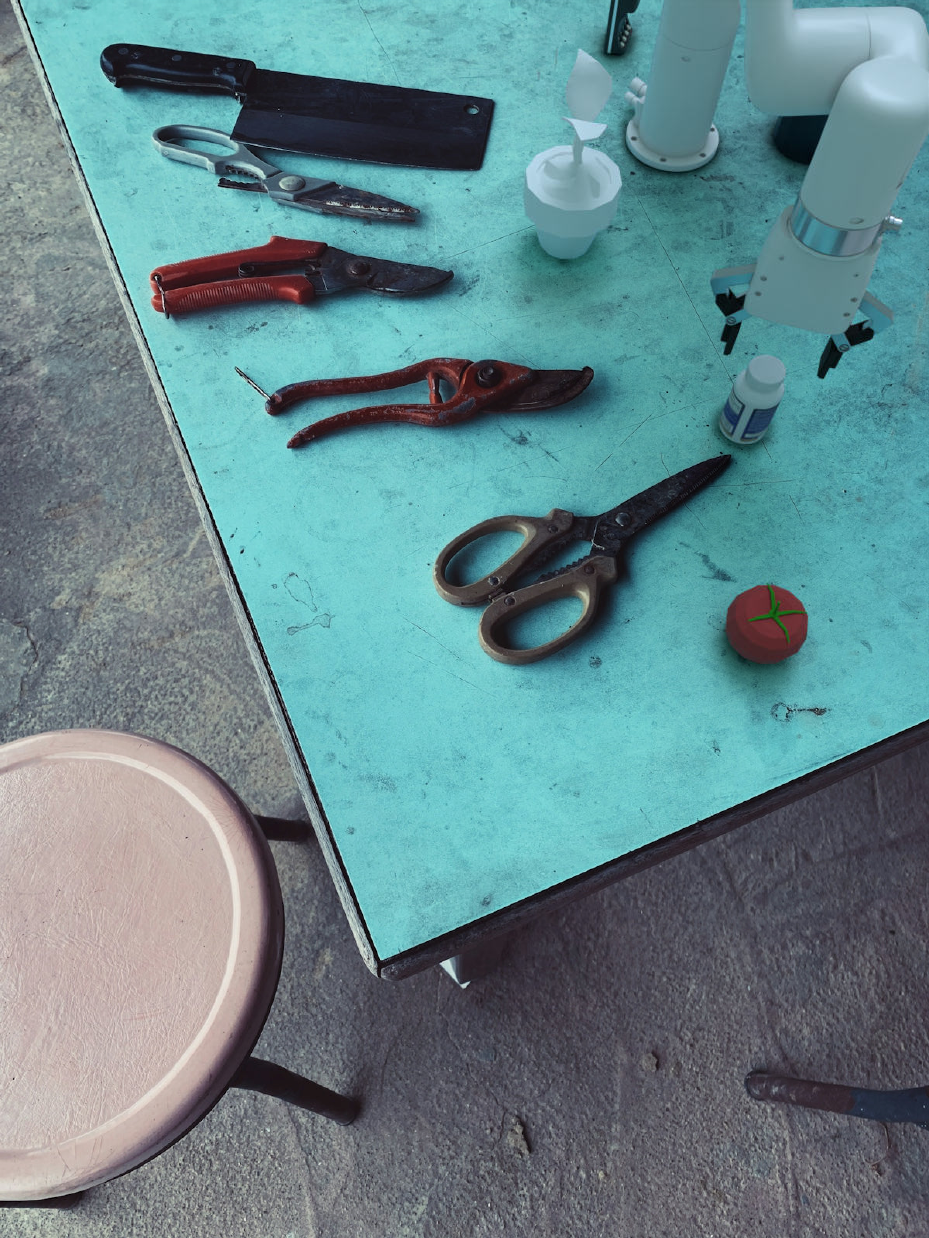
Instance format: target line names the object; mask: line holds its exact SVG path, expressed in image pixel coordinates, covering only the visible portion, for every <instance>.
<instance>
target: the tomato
mask: <svg viewBox="0 0 929 1238" xmlns="http://www.w3.org/2000/svg"><path fill="white" fill-rule="evenodd" d="M808 628H809V615H808V612H807V611H806V609H805V606H804V603H803V602H802V601H801V600H800V599H799V598H798V597H797V596H796V595H795V594H794V593H793V592H791V591H790V590H788V589H785V588H783V587H780V586H778V585H775V584H769V582H766V584H757V585H755V586H753V587H750V588H749V589H747V590H744V591H743V592H741V593H739V594H737V595H736V596H735V597H734V599H733V600H732V602H731V603H730V604H729V605H728V607H727V611H726V617H725V628H724V629H725V630H724V631H725V634H726V636H727V640H728V642H729V644H730V647H732V649H734V650H735V651H736V652H737V653H738V654H739V655H740V656H741V657H742V658H744V659H746V660H749V661H750V662H754V663H756V664H759V665H772V664H773V665H774V664H778V663H780V662H782V661H784V660H787V659H789V658H790V657H792V656H793V655H796V654H797V653H799V651H800V650H801V648H802V647H803V645H804V644H805V642H806V641H807V637H808V630H809V629H808Z"/></svg>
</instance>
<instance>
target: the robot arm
mask: <svg viewBox="0 0 929 1238" xmlns="http://www.w3.org/2000/svg"><path fill="white" fill-rule="evenodd" d="M793 1H794V0H745V11H744V12H745V13H744V15H745V16H744V17H745V19H744V44H743V45H744V46H743V47H744V48H743V49H744V50H743V70H744V71H743V72H744V74H743V75H744V83H745V91H746V94H747V97H748V100H749V102H750V103H751V105H752V106H753V107H754V108H755V109H756V110H757V111H758V112H760V113H761V114H764V115H767V116H771V117H772V116H773V117H778V116H803V115H829V117H828V120H827V122H826V125H825V128H824V130H823V133H822V135H821V138H820V141H819V143H818V146H817V148H816V151H815V154H814V156H813V159H812V161H811V164H810V165H809V166H808V169H807V171H806V174H805V176H804V179H803V181H802V184H801V187H800V189H799V192H798V194H797V197H796V199H795V202H794V203H793V204H790V205H787V206H786V207H784V209H783V210H782V212H780V214H779V215H778V216H777V219H776V220H775V222H774V223H773V225H772V227H771V229H770V231H769V232H768V235H767V237H766V239H765V240H764V242H763V245H762V247H761V249H760V251H759V254H758V257H757V258H756V261H755V262H754V263H750V264H743V265H737V266H729V267H724V268H719V269H715V270H713V271H712V274H711V277H710V281H709V284H710V287H711V289H712V290H711V291H712V293H713V296H714V304H715V305H716V306H717V308H718V309H719V310H720V312H721V313H722V315H723V316H724V318H725V319H724V323H725V324H724V327H723V329H722V332H721V335H720V340H719V341H720V342H722V343H725V345H724V349H723V353H722V355H723V356H727V357H728V356H731V354H732V351H733V349H734V347H735V344H736V342H737V338H738V336H739V333H740V330H741V327H742V324H743V321H745V320H747V319H750V318H751V317H754V318H757V319H760V320H764V321H767V322H771V323H775V324H779V325H783V326H787V327H791V328H796V329H800V330H803V331H807V332H808V331H809V332H813V333H818V334H822V335H828V336H829V335H830V337H829V339H828V341H827V343H826V345H825V346H824V348H823V351H822V353H821V354H820V358H819V362H818V368H817V373H816V377H818V379H820V380H825V378H826V376H827V374H828V372H829V370H830V369H833V370H836V368H837V366H838V364H839V362H840V360H841V359H842V357H843V355H844V353H848V352H850V351H851V349H852V347H855V346H858V345H861V344H864V343H867V342H869V341H871V340H873V339H874V336H876V335H879V334H880V333H882V332H884V331H885V330H886V329H888V328H890V327H891V326H892V325H893V323H894V318H895V312H894V310H892V309H891V307H889V306H887V305H886V304H884V303H883V302H882V301H881V300H880V299H878V298H877V297H876V296H875V295H873V294H872V293H871V292H870V291H868V290H867V288H868V286H869V283H870V280H871V277H872V275H873V272H874V270H875V269H874V268H875V266H876V264H877V260H878V256H879V255H880V250H881V248H882V243H883V237H884V234H885V235H888V234H893V235H898V234H899V232H900V230H901V228H902V226H903V225H902V224H903V221H904V218H903V217H899V216H896V213H895V214H894V213H892V207H893V205H894V203H895V200H896V198H897V197H898V195H899V192H900V191H901V188H902V187H903V186H904V183H905V181H906V179H907V177H908V175H909V173H910V171H911V168H912V167H913V164H914V163H915V161H916V159H917V157H918V155H919V152H920V150H921V149H922V147H923V145H924V143H925V141H926V140H927V137H928V135H929V33H928V28H927V25H926V21H925V19H924V18H923V16H922V14H920V12H919V11H917V10H916V9H912V8H910V7H906V6H864V7H863V6H861V7H860V6H835V7H833V6H832V7H804V8H794V2H793ZM662 2H663V3H662V7H661V12H660V19H659V23H658V28H657V34H656V39H655V44H654V48H653V55H652V58H651V63H650V69H649V73H648V78H647V83H646V82H645V81H643V80H642V79H640V78H639V77H637V76H636V77H634V78H633V79H632V80H631V81H630V83H629V86H628V91H627V92H626V93H625V94H624V95H623V102H624V103H626V104H627V105H628V106H630V107H631V108H632V107H633V109H634V115H633V116H632V117H631V119H629V122H628V123H627V126H626V133H625V142H626V146H627V148H628V149H629V151H630V152H631V154H632V155H633V156H634V157H635V158H636V159H637V160H639V161H640V162H641V163H643V164H645V165H647V166H649V167H652V168H654V169H657V170H661V171H664V172H673V173H675V172H676V173H678V172H687V171H693V170H695V169H698V168H701V167H703V166H705V165H707V164H708V163H709V162H710V161H711V160H713V158H714V156H715V155H716V153H717V150H718V147H719V143H720V133H719V131H718V129H717V127H716V125H715V123H714V118H715V115H716V111H717V107H718V104H719V101H720V96H721V93H722V89H723V86H724V82H725V79H726V74H727V71H728V68H729V64H730V60H731V57H732V53H733V50H734V45H735V43H736V38H737V35H738V31H739V27H740V23H741V18H742V6H741V5H742V4H741V0H663V1H662ZM747 284H748V287H747V289H746V290H744V291H743V292H740V293H739V294H736V295H735V293H734V292H733V291H732V289H731V288H730V287H734V286H741V285H747ZM858 310H859V311H860V312H861V314H863V315H865V316H866V317H867V318H869V319H865V320H862V321H860V322H857V323H853V321H854V319H855V316H856V314H857V312H858Z"/></svg>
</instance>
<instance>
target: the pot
mask: <svg viewBox="0 0 929 1238" xmlns="http://www.w3.org/2000/svg"><path fill="white" fill-rule="evenodd" d="M828 117H829V115H803V116H777V119H776V122H775V125H774V128H773V133H772V140H773V143H774V146H776V148H777V149H778V151H779V152H780V153H781V154H782V155H784V156H785V157H786V158H788V159H790V160H792V161H794V162H797V163H800V164H803V165H809V166H810V164H811V161H812V159H813V156H814V154H815V151H816V148H817V146H818V143H819V141H820V138H821V135H822V133H823V130H824V128H825V125H826V122H827V120H828Z"/></svg>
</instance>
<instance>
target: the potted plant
mask: <svg viewBox="0 0 929 1238" xmlns="http://www.w3.org/2000/svg"><path fill="white" fill-rule="evenodd" d="M558 46H559V43H557V45H556V48H559V47H558ZM554 51H555V60H554V61H555V62H554V70H556V68H557V65H558V49H556V50H554ZM536 73H537V82H539V81H540V79H541V77H542V76H541V73H540V69H538V70H536ZM548 86H549V85H547V88H546V89H545V90H546V91H548V89H549V87H548ZM564 94H565V100H566V105H567V107H568V110H569V112H570V115H571V117H572V118H570V117H565V116H561V118H560V119H561V120H562V121H565V122H567V124H569V126H571V127H572V128H573V131H574V138H573V141H572V144H571V145H570V144H567V145H555V146H553V147H552V146H551V147H550V148H548V149H545V150H544V151H541V152H538V153H537V154H535V156H534V157H533V158H532V160H531V161H530V163H529V164H528V166H527V167H526V168H525V172H524V184H523V185H524V186H523V206H524V213H525V214H524V215H525V216H526V217H527V218H528V219H529V220H530V221H531V222H532V223H533V225H534V229H535V231H536V232H535V233H536V234H537V238H538V243H539V245H540V247H541V248H542V249H543V250H544V251H545V252H546V253H547V255H549V256H551V257H554V258H557V259H560V260H562V259H563V260H567V259H569V260H570V259H576V258H579V257H580V256H583V255H585V254H586V253H587V252H588V250H589V248H590V246H591V245H592V243H593V242H594V240H595V238H596V237H597V235H598V233H599V232H601V231H603V230H606V229H607V228H608V227H609V225H610V224H611V222H612V221H613V219H614V217H615V216H616V214H617V213H618V207H619V203H620V198H621V192H622V186H623V182H622V176H621V172H620V167H619V165H617V163H615V162H614V161H613V160H612V159H611V158H610V157H609V156H608V155H607V154H606V153H605V152H603V151H600V150H597V149H594V148H592V147H588V146H585V145H586V143H587V142H593V141H598V140H599V139H600V138H601V136H603V135H604V133H605V132H606V131H607V129H609V125H608V124H605V123H599V122H598V123H597V122H595V120H596V119H597V117H598V116H599V115H600V114H601V112H602V111H603V109H604V108H605V107H606V105H607V103H608V101H609V99H610V98H611V96H612V95H613V77H612V75H611V74H610V73H609V72H608V71H607V70H606V69H605V68H604V66H603V65H602V64H601V63H600V62H599V61H598V60H597V59H595V58H594V57H593V56H592V55H590V54H588V53H587V52H586V51H584V50H583V49H582V48H579V49H578V52H577V56H576V59H575V63H574V65H573V67H572V69H571V71H570V74H569V76H568V80H567V82H566V86H565V88H564ZM545 99H546V100H547V99H548V95H546V98H545Z"/></svg>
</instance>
